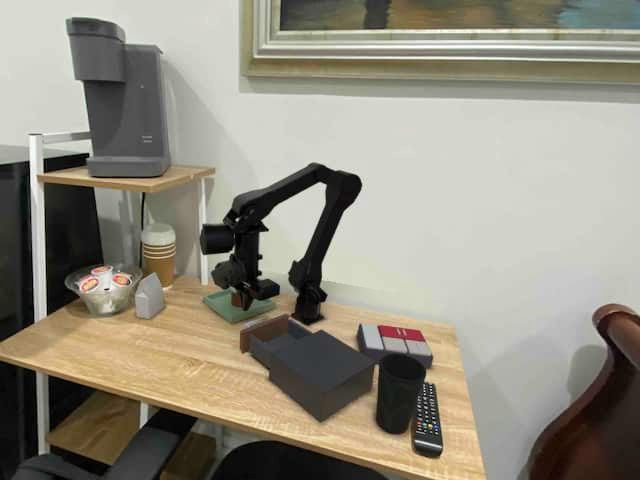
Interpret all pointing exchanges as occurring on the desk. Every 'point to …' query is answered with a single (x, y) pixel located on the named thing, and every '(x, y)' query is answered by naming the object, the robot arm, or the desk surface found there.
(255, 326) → the drawer
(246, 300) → the robot arm
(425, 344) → the red and grey box
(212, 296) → the tray
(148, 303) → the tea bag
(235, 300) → the pod
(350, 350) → the dark grey box
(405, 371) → the cup
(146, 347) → the desk surface
